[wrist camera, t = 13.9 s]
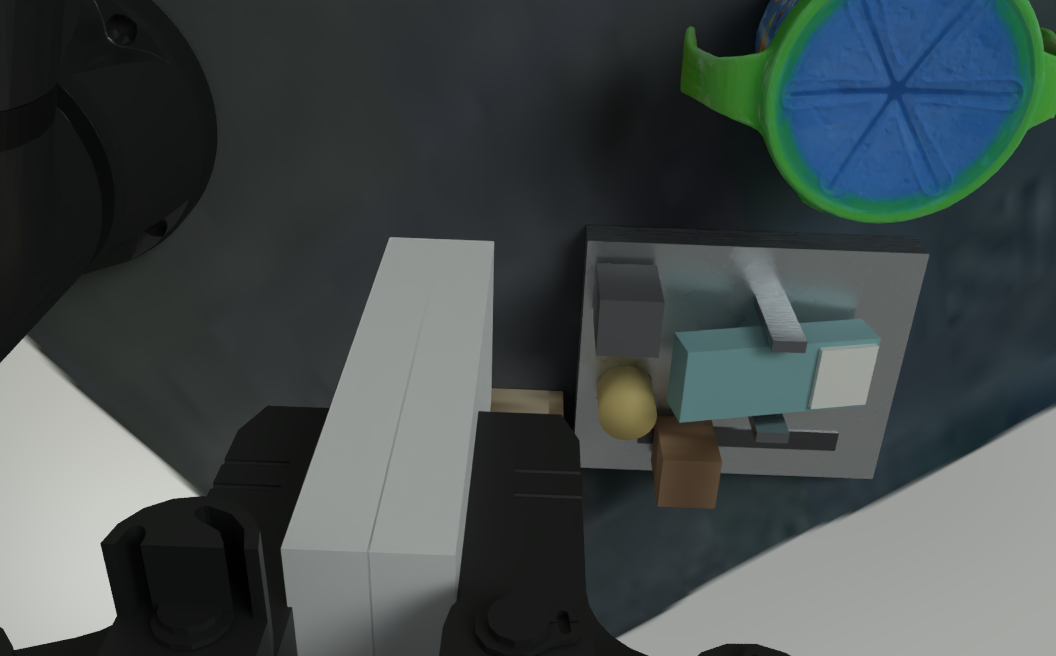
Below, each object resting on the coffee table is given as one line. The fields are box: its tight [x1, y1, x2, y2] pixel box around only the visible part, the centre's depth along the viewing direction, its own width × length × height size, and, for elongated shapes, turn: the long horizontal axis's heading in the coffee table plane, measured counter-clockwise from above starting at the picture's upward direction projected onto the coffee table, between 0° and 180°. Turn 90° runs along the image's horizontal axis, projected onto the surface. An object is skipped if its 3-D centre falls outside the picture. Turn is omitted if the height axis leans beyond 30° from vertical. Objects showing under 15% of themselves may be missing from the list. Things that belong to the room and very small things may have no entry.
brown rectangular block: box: [651, 416, 722, 509], centre depth 53 cm, size 3×3×4 cm
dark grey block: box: [593, 263, 665, 358], centre depth 48 cm, size 3×3×4 cm
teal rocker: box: [667, 319, 881, 423], centre depth 50 cm, size 10×4×2 cm, turn 88°
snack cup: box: [681, 0, 1056, 223], centre depth 42 cm, size 16×10×10 cm
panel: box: [573, 225, 929, 479], centre depth 52 cm, size 17×14×7 cm
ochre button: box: [597, 366, 657, 440], centre depth 52 cm, size 3×3×2 cm
